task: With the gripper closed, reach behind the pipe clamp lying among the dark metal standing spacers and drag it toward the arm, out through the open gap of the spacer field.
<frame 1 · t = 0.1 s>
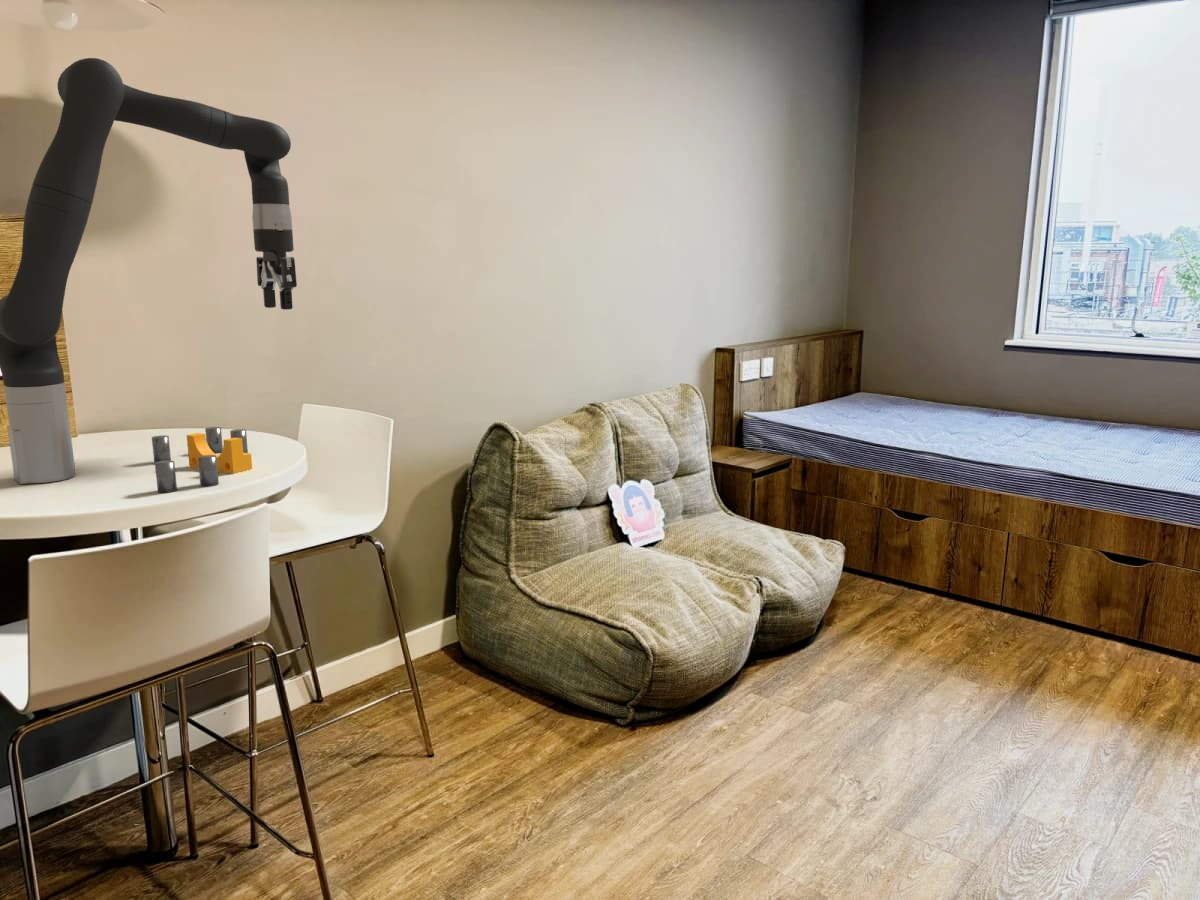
hand: (278, 308, 187), 29 cm above the table, fingers open, 8 cm apart
spacer field: (221, 467, 172), on the table
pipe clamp: (220, 470, 172), on the table
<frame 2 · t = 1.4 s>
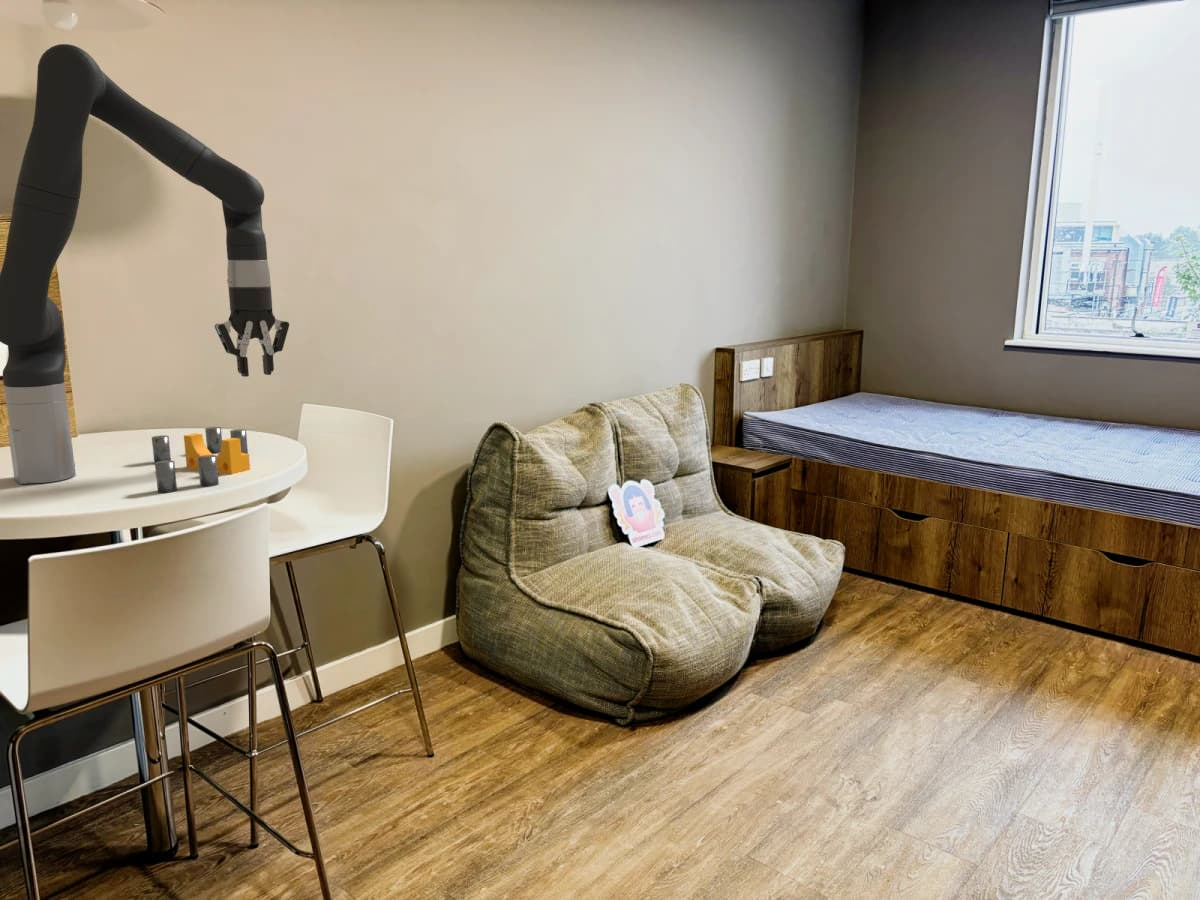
hand: (256, 374, 174), 17 cm above the table, fingers open, 3 cm apart
nothing on the table moved.
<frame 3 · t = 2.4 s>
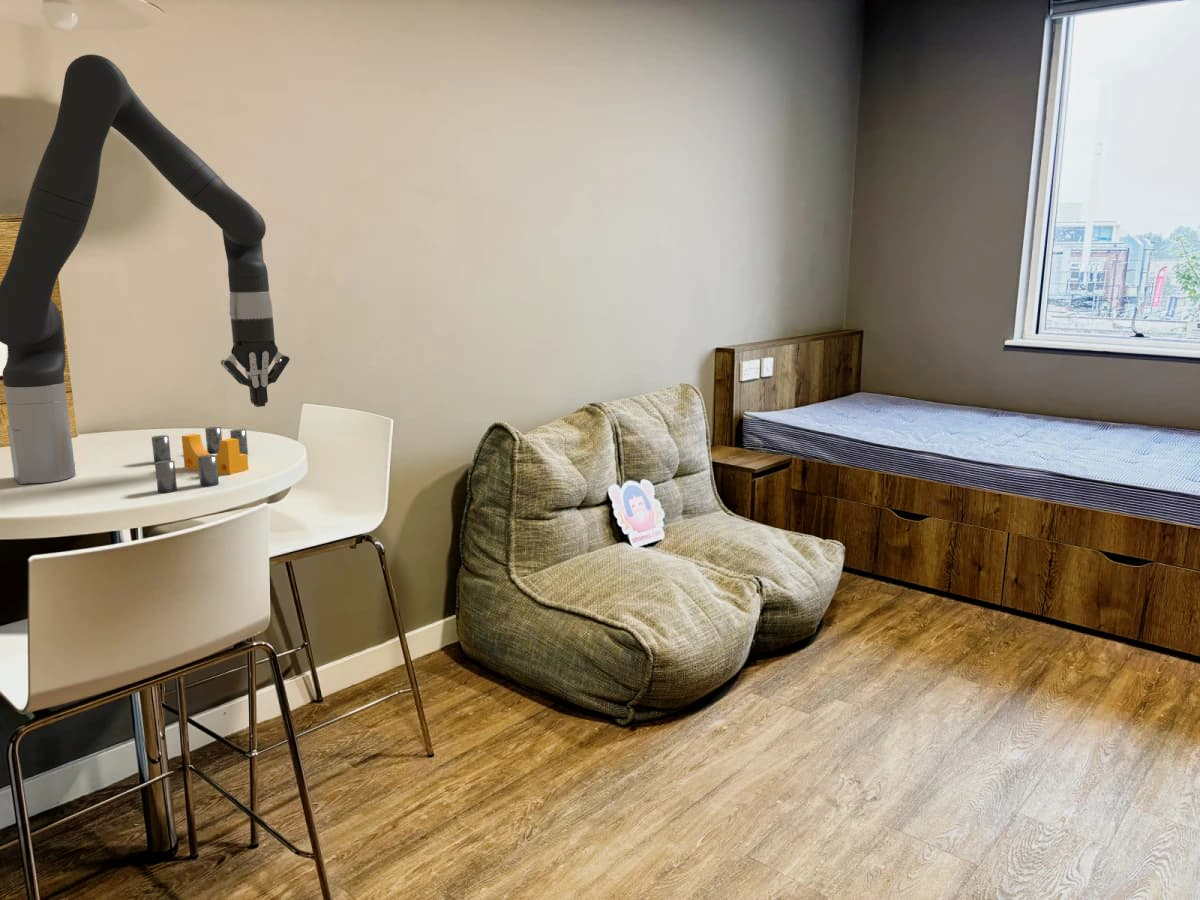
hand: (259, 406, 175), 11 cm above the table, fingers closed
nothing on the table moved.
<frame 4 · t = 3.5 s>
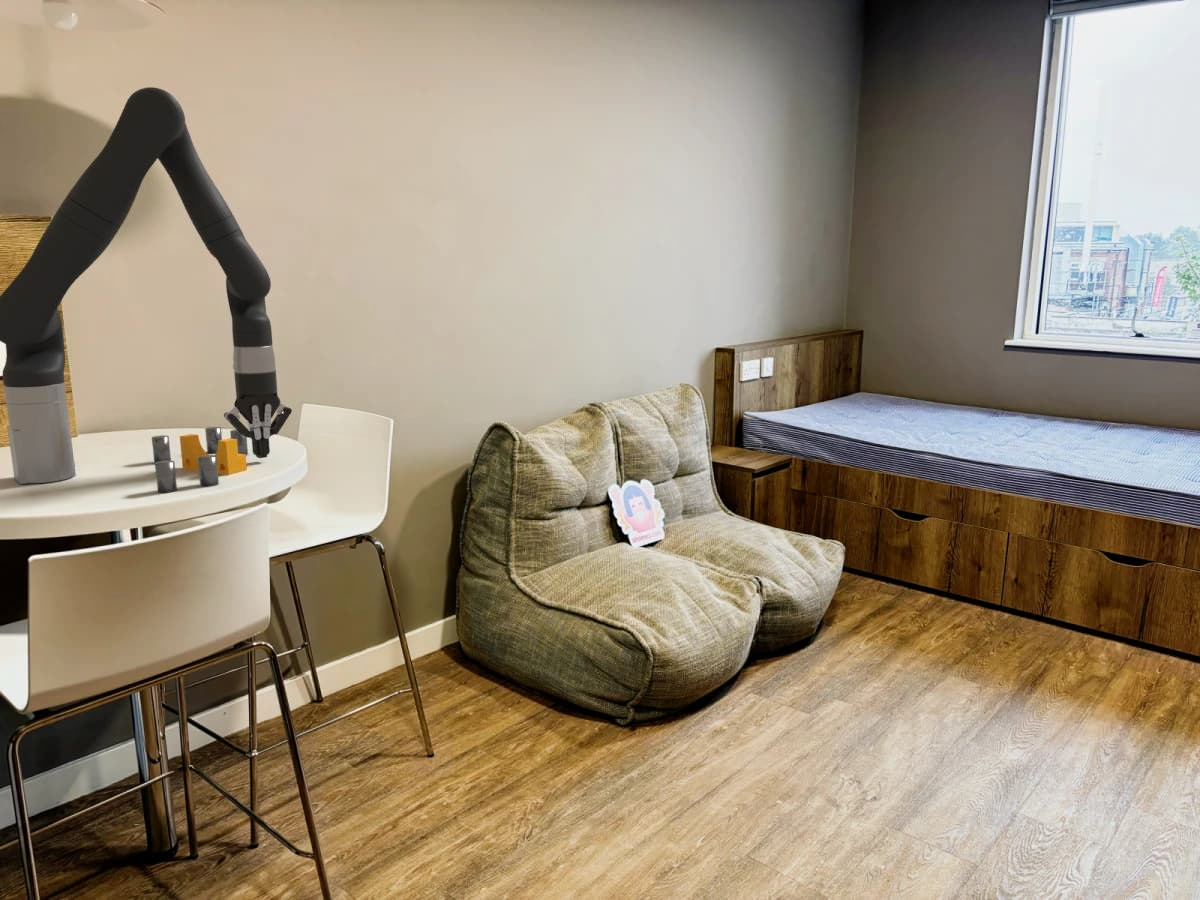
hand: (261, 457, 177), 1 cm above the table, fingers closed
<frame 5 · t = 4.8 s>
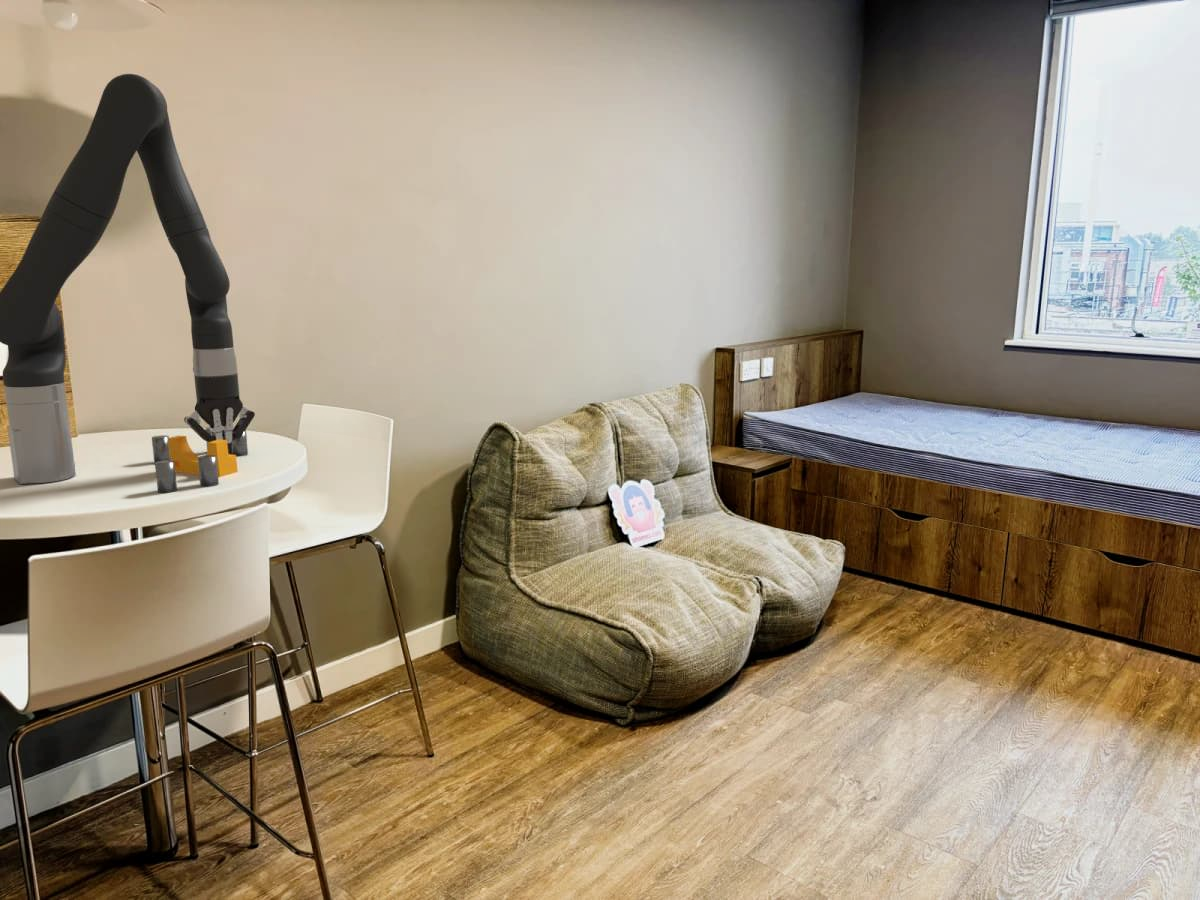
hand: (224, 462, 173), 1 cm above the table, fingers closed
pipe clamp: (204, 472, 169), on the table
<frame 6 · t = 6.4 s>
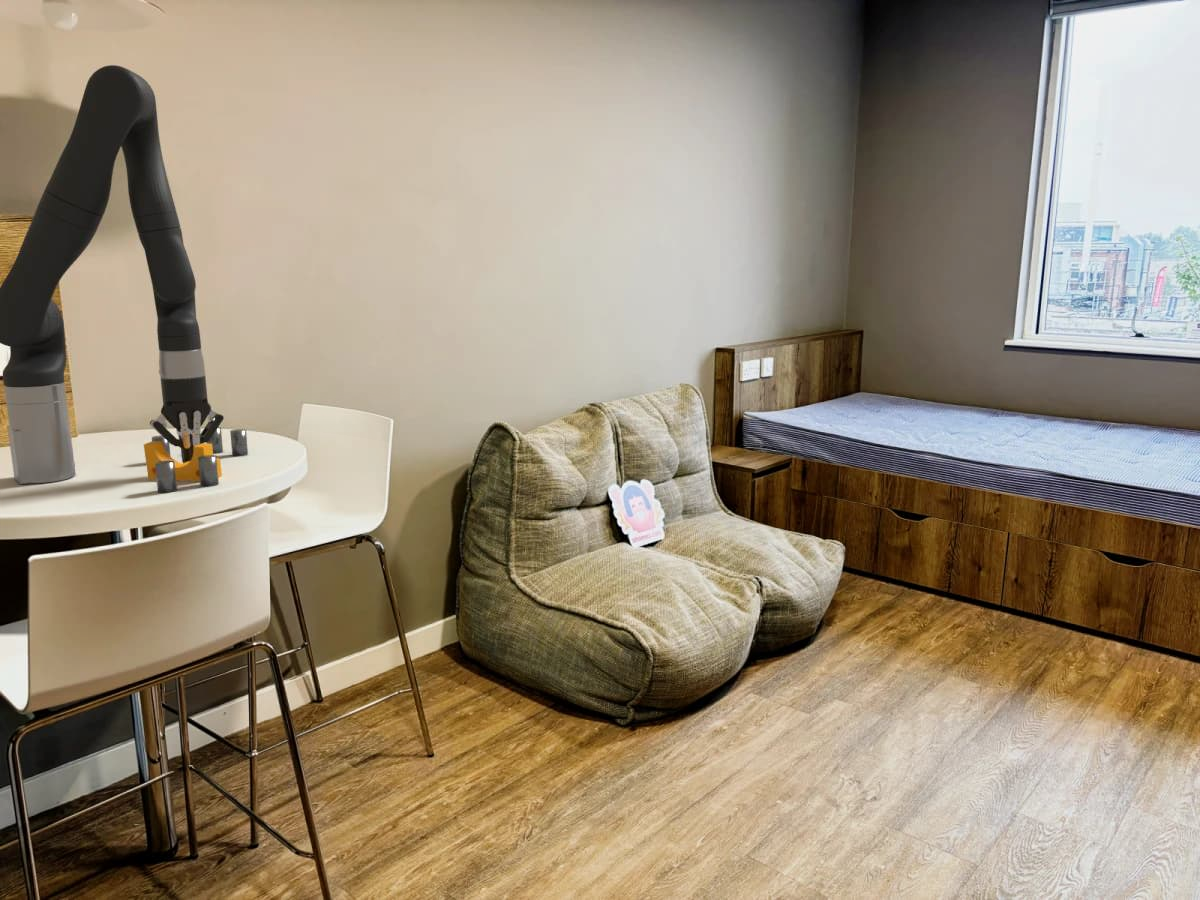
hand: (192, 466, 169), 1 cm above the table, fingers closed
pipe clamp: (185, 478, 165), on the table
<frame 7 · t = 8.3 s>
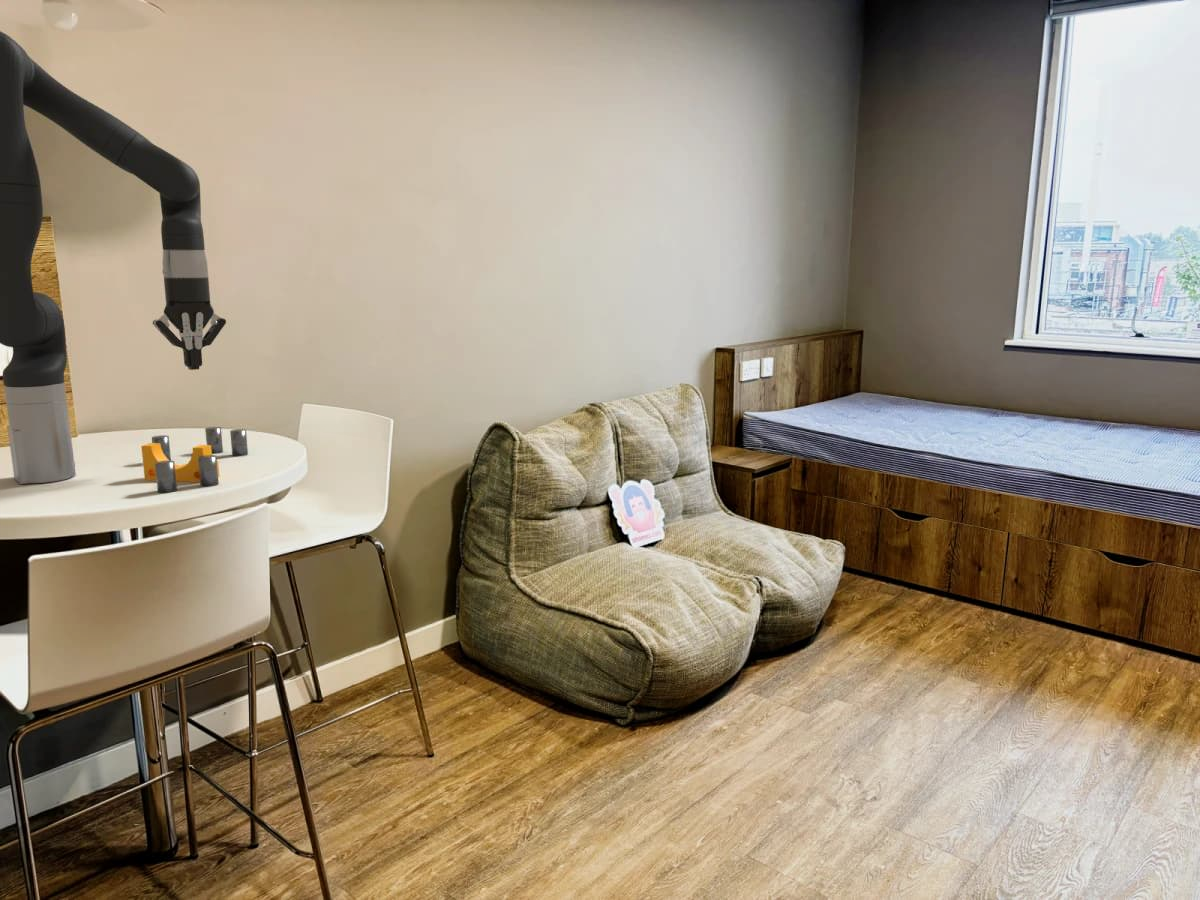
hand: (194, 369, 170), 19 cm above the table, fingers closed
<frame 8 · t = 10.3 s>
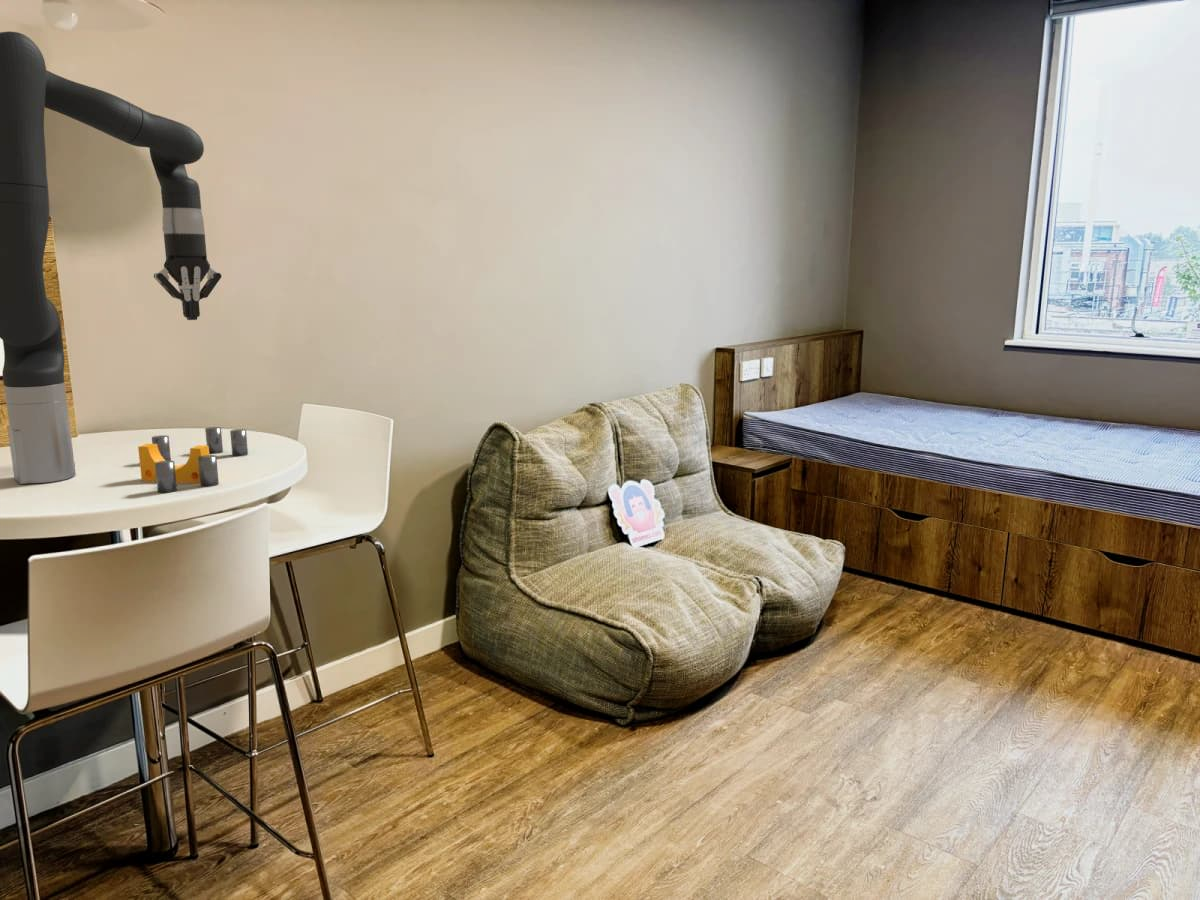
hand: (192, 319, 183), 27 cm above the table, fingers closed
at the end: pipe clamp inside the target area (4.5 cm from its centre), on the table; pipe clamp moved 9.9 cm from its start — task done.
